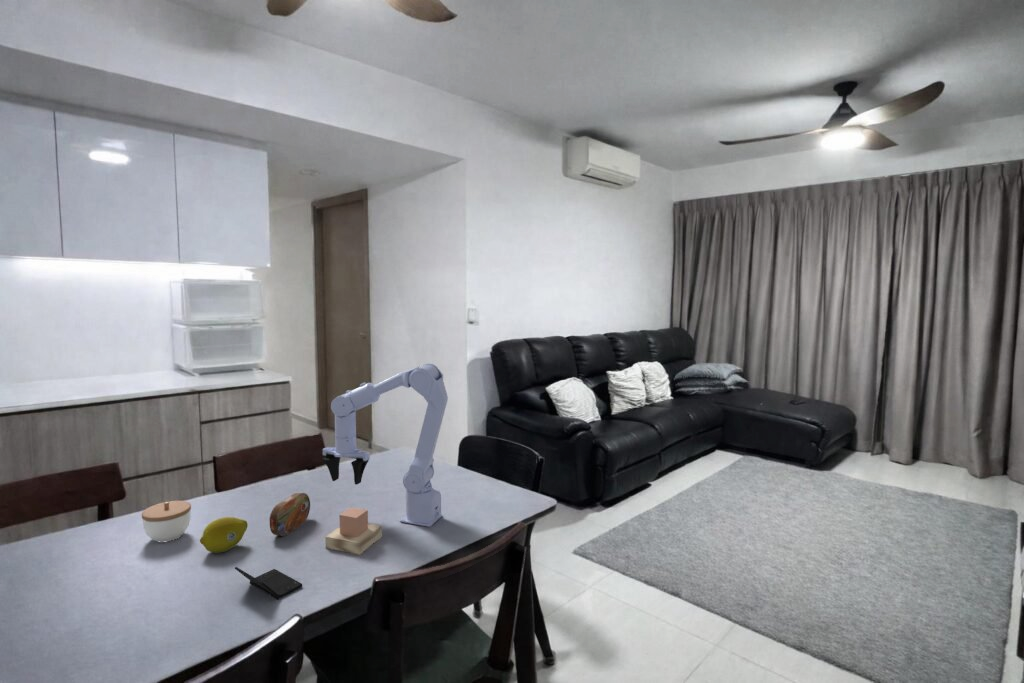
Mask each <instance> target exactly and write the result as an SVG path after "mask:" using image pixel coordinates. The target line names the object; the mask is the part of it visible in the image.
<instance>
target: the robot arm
mask: <svg viewBox="0 0 1024 683" xmlns="http://www.w3.org/2000/svg"><path fill="white" fill-rule="evenodd" d="M399 387H405V388H407V389H409V388H412V389H413V391H416V392H417V393H418V394H420V395H421V396H422V397H423V398H424V400H425V401H426V403H427V407H426V410H425V415H424V417H423V418H424V419H423V422H422V426H421V429H420V434H419V437H418V442H417V444H416V445H417V446H416V448H415V454H414V457H413V459H412V461H411V463H410V465H409V469H408V471H407V472H406V473H405V474H404V475H403V478H402V484H403V487H404V488H405V498H406V499H405V501H406V502H405V505H406V506H405V510H406V512H405V515H404V516H403V517H402V518H401V519H400V520H399V522H401V523H406V524H411V525H417V526H423V527H428V528H429V527H430V528H431V527H432V526H433V525H434V524H435V523H436V522H437V521H438V520H439V519H441V517H442V516H443V514H442V494H441V492H440V490H437V489H435V488H433V485H432V482H431V479H433V477H434V474H435V469H434V461H435V459H434V454H435V449H436V446H437V442H438V438H439V434H440V430H441V426H442V423H443V419H444V415H445V412H446V407H447V404H448V398H449V397H448V393H447V390H446V386H445V382H444V374H443V373H442V371H441V370H440V369H439V367H438V366H436V365H435V364H433V363H425V364H423V365H422V366H416V367H413V368H408V369H406V370H404V371H401V372H399V373H397V374H395V375H393V376H391V377H389V378H387V379H385V380H382V381H381V382H379V383H377V384H374V383H372V382H367V383H366V382H365V381H364V382H362V383H360V384H359V387H357V388H354V389H348V390H346V391H345V393H342V394H341V395H338V396H336V397H335V398H333V399H332V401H331V404H330V410H331V412H332V413H333V415H334V437H335V438H334V442H335V444H334V445H335V446H334V447H330V446H327V447H324V448H322V456H325V457H324V458H323V459H322V460H323V463H324V464H325V465H326V467H327V470H328V471H329V474H330V477H331V480H332V482H335V481H337V480H339V477H340V461H341V458H347V459H355V460H353V461H352V462H350V464H351V466H352V471H353V480H354V481H353V482H354V485H355V486H356V485H359V484H361V483H362V478H363V474H364V471H365V468H366V467H367V464H368V463H369V460H371V456H370V455H371V454H370V452H368V451H364V450H361V449H358V448H357V418H356V415H357V414H356V413H357V411H359V410H361V409H363V408H365V407H367V406H369V405H371V404H373V403H376V402H378V401H379V398H380V396H381V395H383V394H385V393H387V392H389V391H393V390H395V389H397V388H399Z"/></svg>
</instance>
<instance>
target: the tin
mask: <svg viewBox="0 0 1024 683" xmlns="http://www.w3.org/2000/svg"><path fill="white" fill-rule="evenodd" d="M310 511H311V500H310V496H309V495H308V494H307V493H306V492H301V493H299V492H296V493H295V492H294V493H292V494H291V495H290V496H287V498H285V499H284V500H282V501H280V502H279V503H278V504H276V505H275V506H274V507H273V508H272V511H271V512H270V515H269V529H270V532H271V533H272V534H273V535H274V536H281V537H286V536H288V535H290V534H291V533H292V532H294V531H295V530H296V529H298V528H299V527H300V526H301V525H302V524H304V523H305V522H306V520H307V519H308V518H309V517H308V516H309V514H310ZM295 528H296V529H295ZM290 532H291V533H290ZM287 534H288V535H287Z"/></svg>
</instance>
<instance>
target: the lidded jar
mask: <svg viewBox="0 0 1024 683" xmlns="http://www.w3.org/2000/svg"><path fill="white" fill-rule="evenodd" d="M191 509H192V505H191V502H189V501H185V500H171V501H163V502H159V503H157V504H154V505H151V506H149V507H146V508H145V509H144V510H143V511H142V512H141V519H142V525H143V529H144V531H145V534H146V536H148V537H149V539H151V540H153V541H154V540H155V541H160V542H164V541H170V540H173V541H175V540H174V539H176V540H178V539H179V537H180V536H181V535H182V536H183V534H184V533H185V532H186V531H187V529H188V528H189V526H190V523H191V517H192V516H191V515H192V514H191V513H192V512H191V511H192V510H191ZM182 536H181V537H182ZM181 537H180V538H181ZM177 538H178V539H177ZM155 541H154V542H155ZM170 542H171V541H170Z"/></svg>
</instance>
